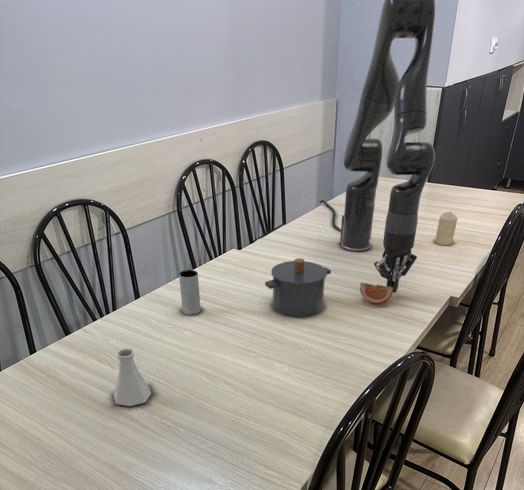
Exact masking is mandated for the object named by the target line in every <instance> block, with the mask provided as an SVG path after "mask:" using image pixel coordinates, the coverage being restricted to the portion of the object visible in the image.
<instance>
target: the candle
mask: <svg viewBox="0 0 524 490" xmlns="http://www.w3.org/2000/svg"><path fill="white" fill-rule="evenodd" d="M457 222H458V216H456V214H454V213H453V212H452V211H446V212H443V213H442V214H441V215H440V216H439V219H438V223H437V229H436V235H435V243H436V244H437V245H441V246H450V245H452V244H453V242H454V236H455V232H456V227H457Z"/></svg>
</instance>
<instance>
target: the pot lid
mask: <svg viewBox="0 0 524 490" xmlns="http://www.w3.org/2000/svg"><path fill="white" fill-rule="evenodd" d="M270 271H271V273H270V274H271V276H272V278H273V277H274V278H275V279H276V280H278V281H280V282H283V283H287V284H294V285H307V284H314V283H317V282H320V281H322V280H323V279H325V280H326V277H327V276H328V275H327V271H326V269H325V268H324V266H322V265H320V264H318V263H317V262H316V263H315V262H311V261H305V259H304V258H301V257H300V258H299V257H298V258H294V260H290V261H284V262H280V263H278V264H276V265H275V266H273V267H272V269H271V270H270Z"/></svg>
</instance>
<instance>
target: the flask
mask: <svg viewBox="0 0 524 490" xmlns="http://www.w3.org/2000/svg"><path fill="white" fill-rule="evenodd" d="M134 355H135V351H134V349H133V348H130V347H124V348H120V349H118V351H116V357H117V359H118V362H119V365H118V366H119V368H118V374H117V380H116V383H115V387H114V392H113V398H114V403H115V404H116V405H120V406H126V407H132V406H136V405H140V404H144V403H146V402H147V400H148V399H149V398H150V396H151V395H152V392H151V389H150V387H149V385H148V383H147V381H146V380H145V379H144V377H143V376H142V374H141V372H140V371H139V369H138V367H137V366H136V363H135V360H134Z"/></svg>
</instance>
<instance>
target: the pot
mask: <svg viewBox="0 0 524 490" xmlns="http://www.w3.org/2000/svg"><path fill="white" fill-rule="evenodd" d="M323 267H324V266H323ZM324 268H325V269H326V271H327V276H328V275H331V274H332V270H331V269H329V268H328V267H326V266H325V267H324ZM325 282H326V278H325V279H323V280H322V281H320V282H317V283H314V284H307V285H294V284H287V283H283V282H280V281H278V280H276V279H275V278H274V277H273V276H272V279H271V280H268V281H265V282H264V286H265V287H267V288H268V289H270V290H272V307H273V309H274V310H275V311H276V312H277V313H278V314H280V315H282V316H286V317H291V318H307V317H312V316H315V315H317V314H318V313H320V312H321V311H322V309H323V308H324V307H323V306H324V296H325V294H324V293H325V284H326V283H325Z"/></svg>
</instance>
